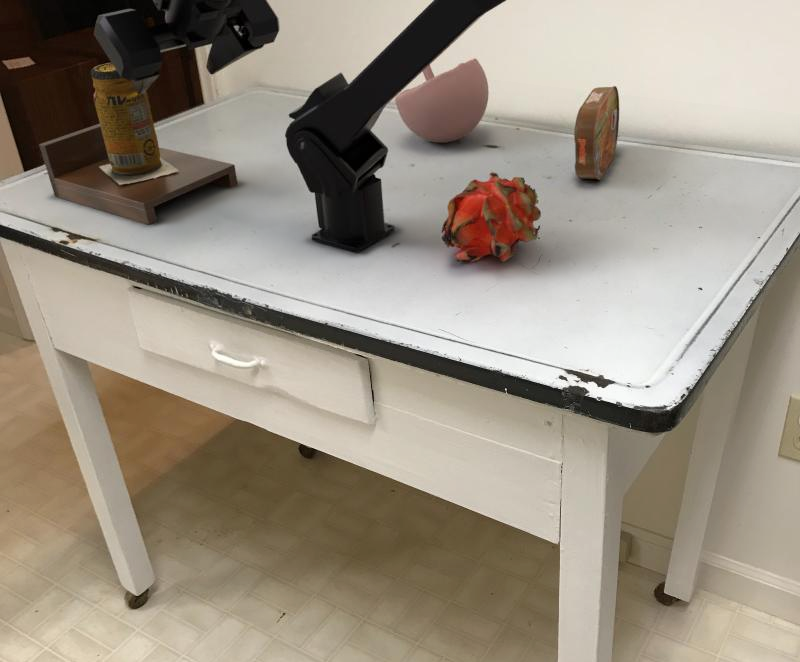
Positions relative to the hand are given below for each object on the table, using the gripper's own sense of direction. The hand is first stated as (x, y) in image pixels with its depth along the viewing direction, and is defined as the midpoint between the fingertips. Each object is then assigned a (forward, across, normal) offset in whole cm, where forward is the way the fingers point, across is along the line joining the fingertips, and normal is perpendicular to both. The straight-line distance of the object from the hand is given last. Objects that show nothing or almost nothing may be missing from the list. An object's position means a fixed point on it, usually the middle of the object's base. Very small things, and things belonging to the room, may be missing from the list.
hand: (174, 80), depth 94 cm
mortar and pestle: (+4, -33, +16) cm, 37 cm away
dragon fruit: (-16, -10, +36) cm, 41 cm away
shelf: (+15, +3, +4) cm, 16 cm away
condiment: (+14, +3, +2) cm, 14 cm away
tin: (-11, -36, +32) cm, 50 cm away
